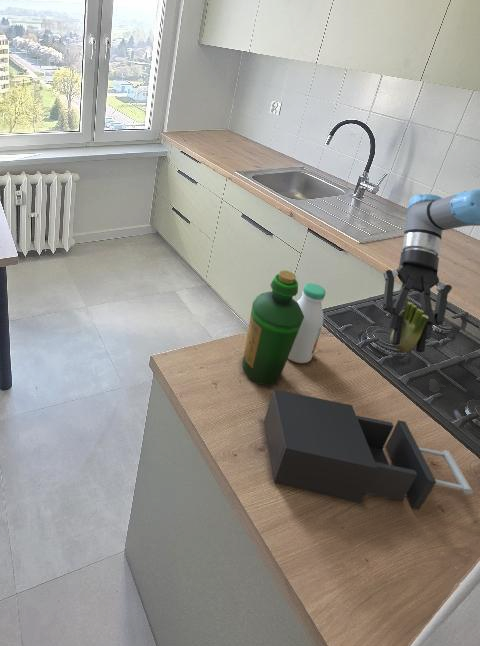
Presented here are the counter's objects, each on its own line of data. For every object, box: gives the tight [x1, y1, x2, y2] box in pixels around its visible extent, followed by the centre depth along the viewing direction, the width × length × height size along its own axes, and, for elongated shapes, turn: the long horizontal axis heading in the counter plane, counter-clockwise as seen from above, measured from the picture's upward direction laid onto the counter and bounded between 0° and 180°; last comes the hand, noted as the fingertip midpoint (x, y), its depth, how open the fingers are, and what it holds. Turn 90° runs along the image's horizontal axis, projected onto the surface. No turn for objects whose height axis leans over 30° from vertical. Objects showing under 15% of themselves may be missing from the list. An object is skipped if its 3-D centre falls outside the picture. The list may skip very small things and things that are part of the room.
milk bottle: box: [287, 282, 326, 364], centre depth 102 cm, size 8×8×20 cm
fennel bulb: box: [389, 301, 428, 354], centre depth 99 cm, size 6×5×12 cm
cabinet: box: [263, 389, 377, 504], centre depth 79 cm, size 15×13×10 cm
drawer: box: [356, 414, 474, 511], centre depth 76 cm, size 21×11×8 cm, turn 78°
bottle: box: [242, 270, 304, 386], centre depth 94 cm, size 11×11×28 cm
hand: (407, 347), depth 97 cm, fingers closed on fennel bulb, 4 cm apart
